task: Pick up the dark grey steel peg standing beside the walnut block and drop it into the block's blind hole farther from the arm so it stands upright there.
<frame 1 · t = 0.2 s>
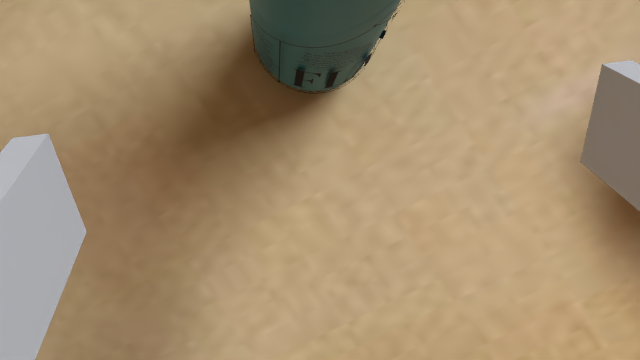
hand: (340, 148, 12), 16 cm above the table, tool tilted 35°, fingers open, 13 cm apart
beverage bottle: (310, 44, 29), on the table
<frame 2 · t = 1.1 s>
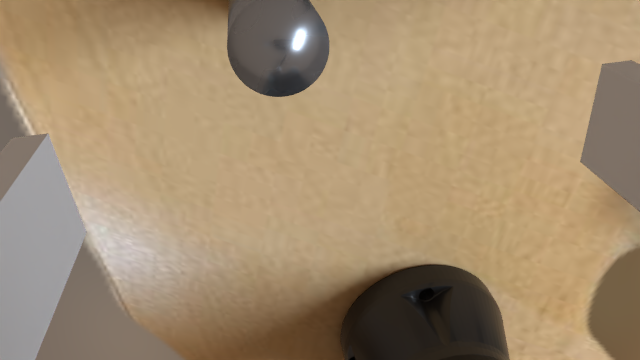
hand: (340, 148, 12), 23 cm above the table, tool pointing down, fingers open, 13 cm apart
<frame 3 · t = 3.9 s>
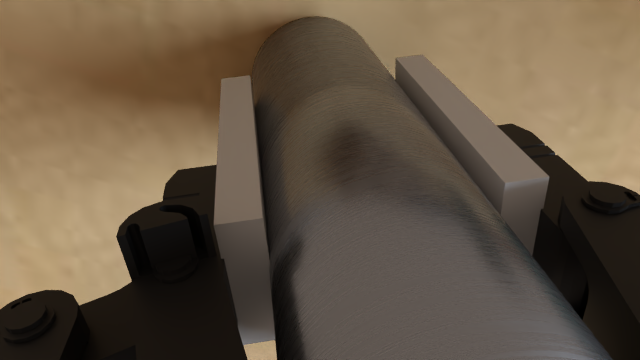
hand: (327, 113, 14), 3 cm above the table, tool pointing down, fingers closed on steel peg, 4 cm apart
steel peg: (314, 80, 16), on the table, touching gripper
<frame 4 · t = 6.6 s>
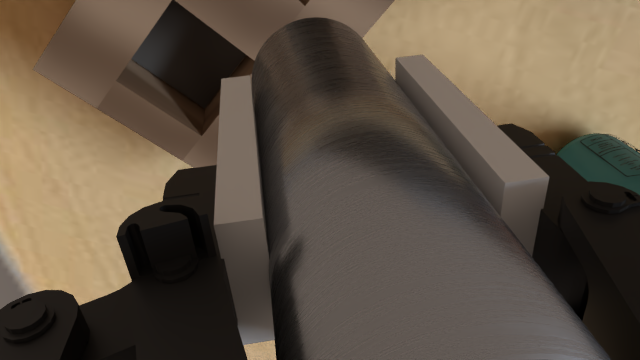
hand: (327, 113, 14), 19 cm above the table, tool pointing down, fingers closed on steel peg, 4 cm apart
beverage bottle: (572, 157, 41), on the table
steel peg: (314, 80, 16), point 17 cm above the table, touching gripper
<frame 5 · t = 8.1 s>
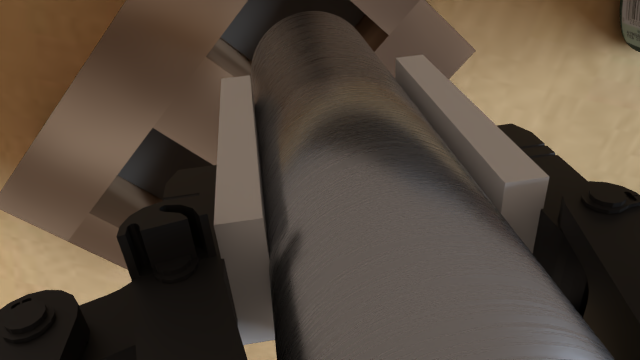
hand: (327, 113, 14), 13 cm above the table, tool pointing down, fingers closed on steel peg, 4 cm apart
peg block: (231, 80, 27), on the table
steel peg: (311, 72, 17), point 10 cm above the table, touching gripper
when the fingers open (8 cm above the table, at t = 9.3 s): steel peg drops 2 cm, resting on peg block.
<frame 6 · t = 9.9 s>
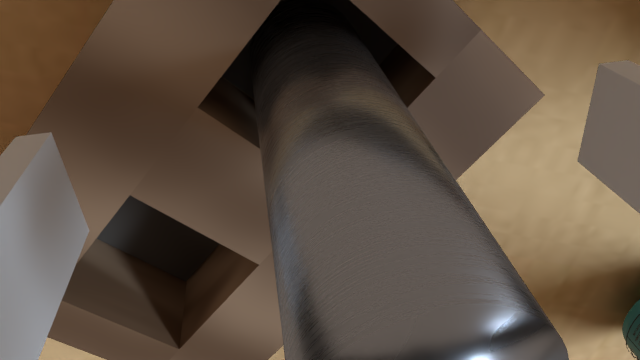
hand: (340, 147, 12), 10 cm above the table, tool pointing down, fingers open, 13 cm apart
peg block: (231, 119, 22), on the table
steel peg: (304, 55, 19), point 2 cm above the table, touching peg block
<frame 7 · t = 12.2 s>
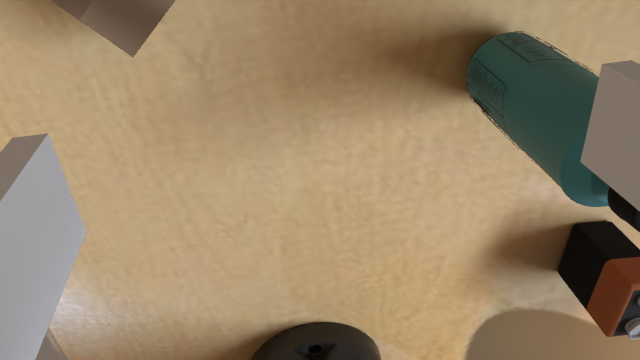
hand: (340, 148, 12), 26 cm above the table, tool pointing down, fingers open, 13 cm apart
beverage bottle: (495, 62, 41), on the table
battery: (581, 245, 54), on the table
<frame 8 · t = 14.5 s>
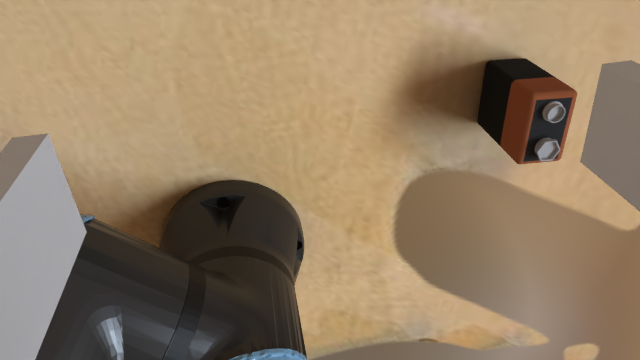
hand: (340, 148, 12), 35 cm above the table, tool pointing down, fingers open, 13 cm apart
battery: (499, 90, 52), on the table
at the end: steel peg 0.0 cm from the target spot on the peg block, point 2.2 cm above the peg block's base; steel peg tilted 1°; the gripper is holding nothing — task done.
